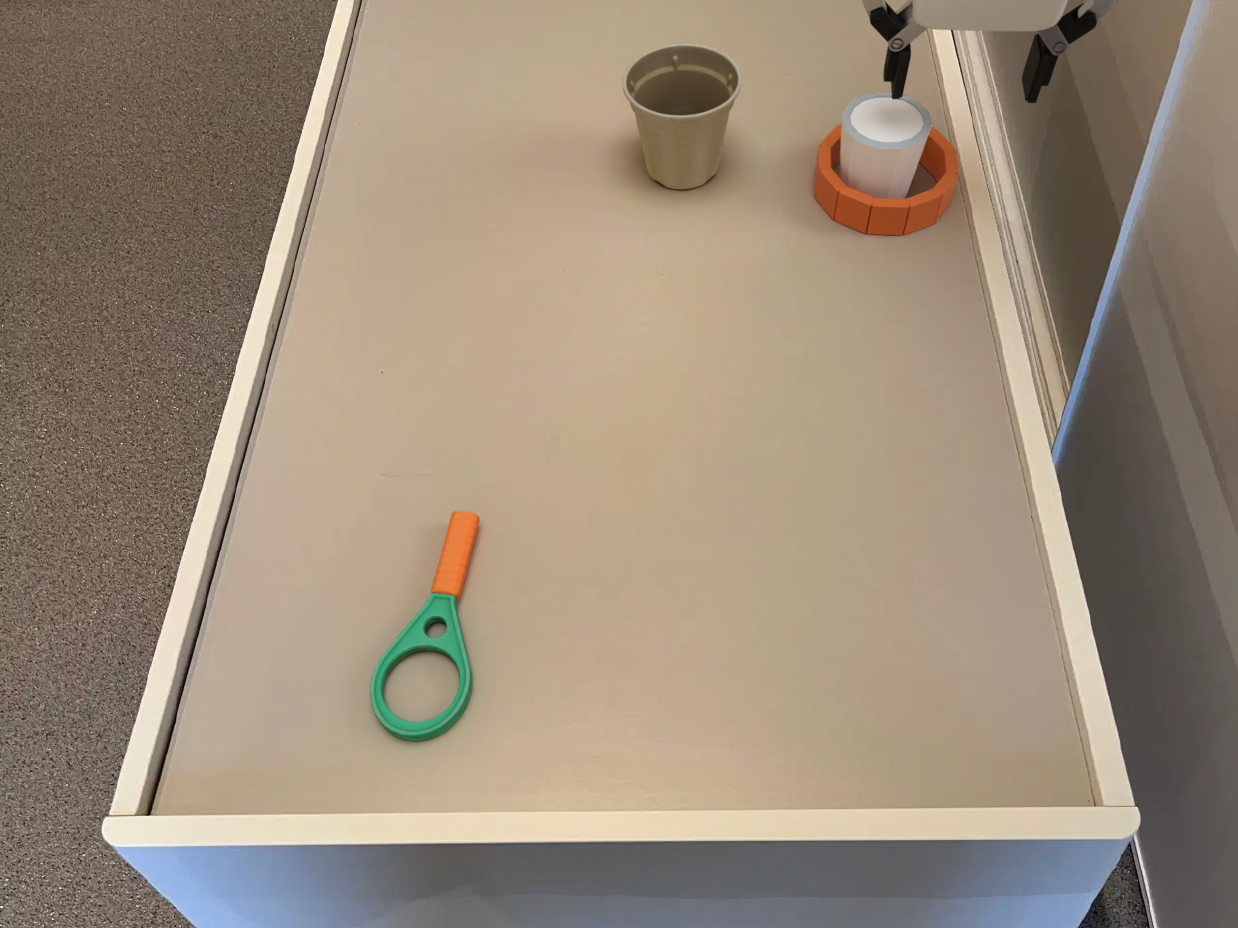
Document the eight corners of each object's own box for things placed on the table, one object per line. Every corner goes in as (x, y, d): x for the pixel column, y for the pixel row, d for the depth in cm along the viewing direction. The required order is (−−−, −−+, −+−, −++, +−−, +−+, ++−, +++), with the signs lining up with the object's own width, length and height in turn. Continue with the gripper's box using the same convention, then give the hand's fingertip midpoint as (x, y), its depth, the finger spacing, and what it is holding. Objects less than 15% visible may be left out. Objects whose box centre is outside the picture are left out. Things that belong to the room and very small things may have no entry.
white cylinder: (855, 151, 90) (868, 80, 84) (929, 180, 87) (947, 109, 81) (815, 197, 87) (825, 127, 81) (891, 229, 84) (907, 159, 78)
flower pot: (607, 152, 91) (601, 65, 84) (702, 117, 93) (704, 29, 86) (659, 218, 86) (657, 132, 79) (758, 179, 88) (765, 92, 81)
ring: (945, 146, 89) (952, 116, 87) (954, 237, 83) (963, 209, 81) (814, 142, 90) (818, 113, 88) (814, 232, 84) (818, 204, 82)
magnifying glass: (458, 748, 62) (453, 738, 61) (360, 735, 63) (353, 725, 61) (512, 528, 70) (509, 515, 69) (425, 518, 71) (420, 505, 70)
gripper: (1161, -179, 65) (1075, 61, 79) (878, -180, 67) (843, 56, 81) (1184, -116, 61) (1088, 126, 75) (882, -119, 63) (844, 118, 77)
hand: (961, 89), depth 78 cm, fingers open, 9 cm apart
